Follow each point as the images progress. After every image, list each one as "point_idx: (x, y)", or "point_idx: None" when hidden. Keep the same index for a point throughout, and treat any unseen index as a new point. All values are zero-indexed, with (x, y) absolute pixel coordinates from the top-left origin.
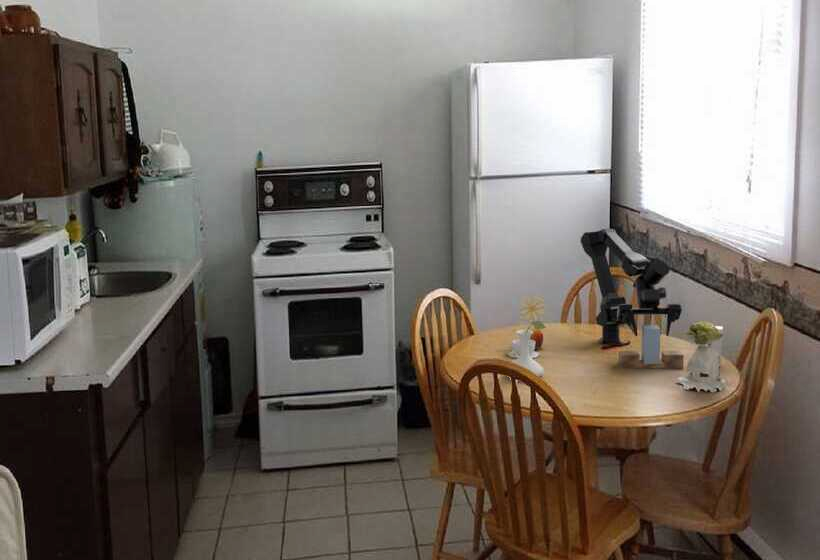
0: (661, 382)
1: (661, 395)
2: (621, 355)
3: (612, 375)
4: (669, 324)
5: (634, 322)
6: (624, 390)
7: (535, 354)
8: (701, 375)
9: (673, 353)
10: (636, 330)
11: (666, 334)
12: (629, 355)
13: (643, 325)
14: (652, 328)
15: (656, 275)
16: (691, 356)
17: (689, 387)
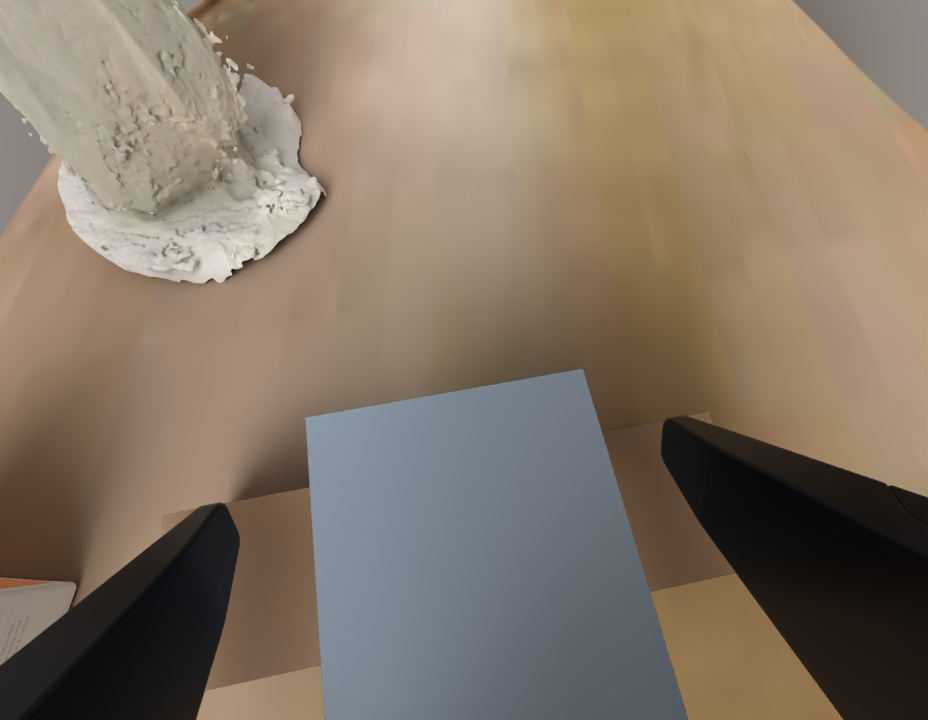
0: (404, 200)
1: (415, 47)
2: (704, 413)
3: (675, 272)
4: (25, 664)
5: (892, 526)
6: (575, 79)
7: None
8: (164, 205)
9: (248, 554)
10: (716, 441)
11: (230, 560)
12: (640, 426)
13: (650, 653)
14: (452, 404)
15: None
16: (162, 11)
17: (277, 88)
